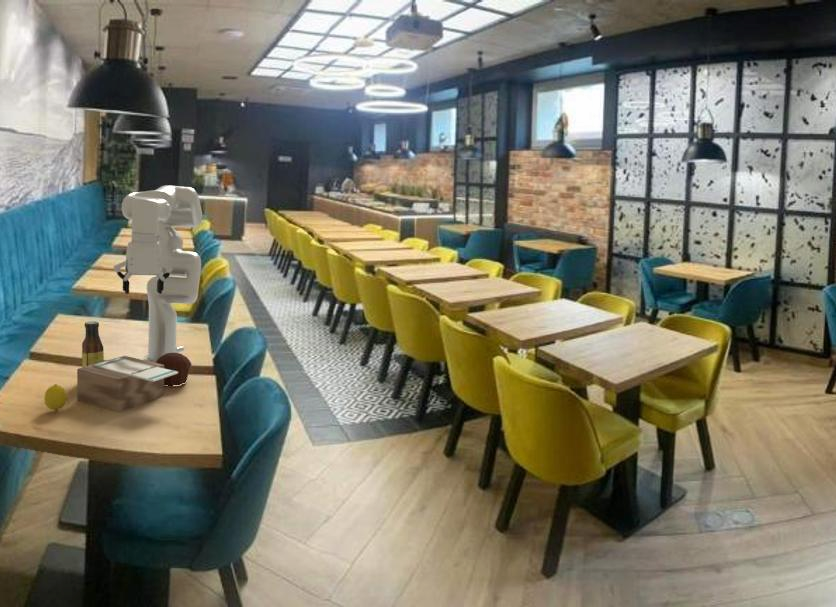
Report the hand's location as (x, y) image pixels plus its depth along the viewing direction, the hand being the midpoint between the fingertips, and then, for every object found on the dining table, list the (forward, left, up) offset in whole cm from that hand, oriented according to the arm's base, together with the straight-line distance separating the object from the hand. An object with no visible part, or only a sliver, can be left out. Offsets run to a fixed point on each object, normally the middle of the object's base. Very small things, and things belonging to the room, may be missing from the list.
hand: (143, 293), depth 199 cm
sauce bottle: (+4, -16, -32) cm, 36 cm away
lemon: (+28, -4, -32) cm, 42 cm away
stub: (+10, +15, -21) cm, 28 cm away
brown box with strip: (+10, +2, -31) cm, 33 cm away
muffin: (-10, +4, -32) cm, 33 cm away
